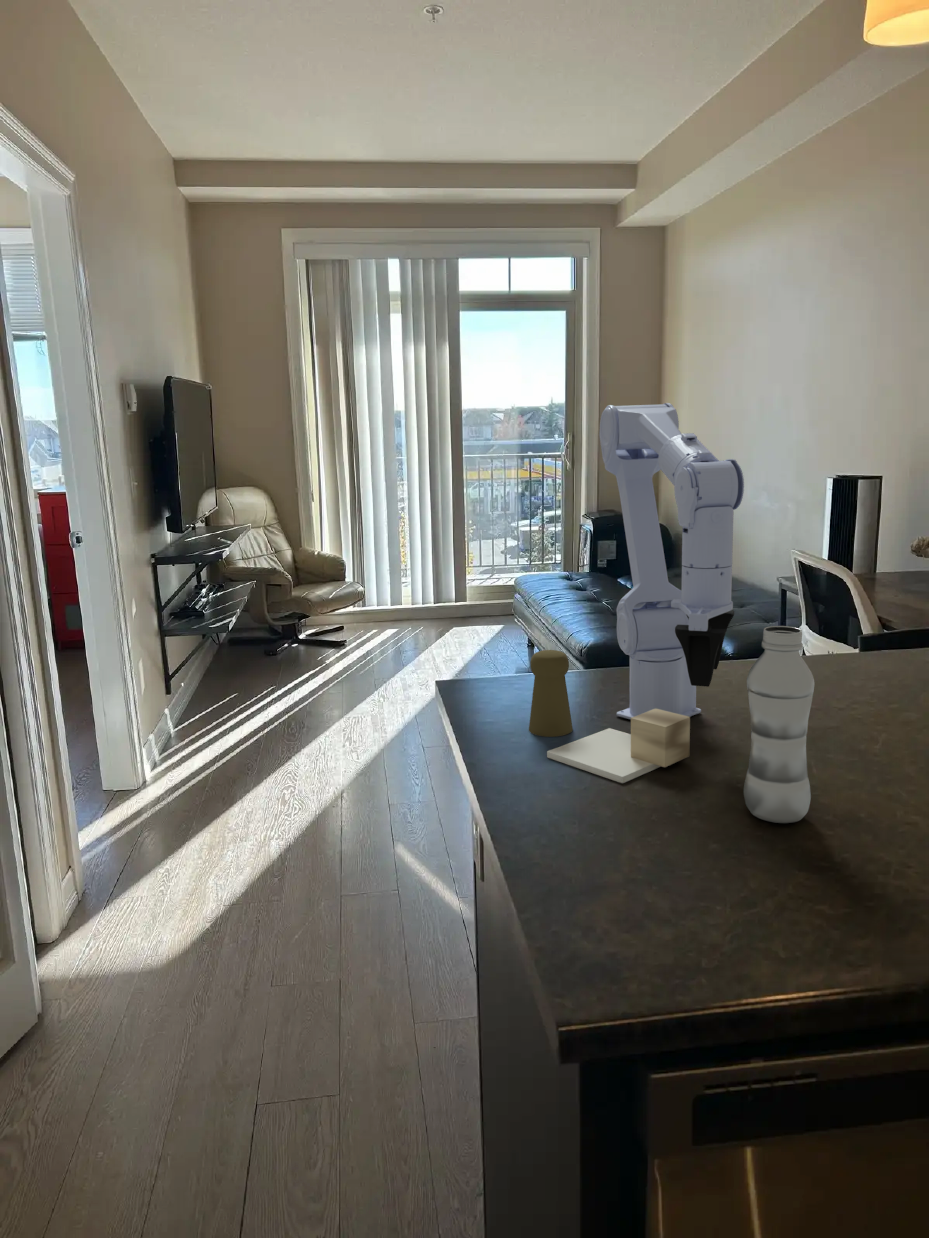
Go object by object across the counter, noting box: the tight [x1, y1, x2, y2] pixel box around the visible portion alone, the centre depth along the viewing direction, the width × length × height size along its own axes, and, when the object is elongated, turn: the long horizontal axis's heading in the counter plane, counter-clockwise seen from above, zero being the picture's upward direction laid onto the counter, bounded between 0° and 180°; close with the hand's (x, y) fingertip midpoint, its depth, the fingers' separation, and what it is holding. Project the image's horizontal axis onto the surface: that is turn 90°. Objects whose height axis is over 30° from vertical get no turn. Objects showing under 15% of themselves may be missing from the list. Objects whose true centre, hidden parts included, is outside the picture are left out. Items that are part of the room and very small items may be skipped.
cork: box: [528, 649, 574, 738], centre depth 121 cm, size 6×6×11 cm
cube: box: [630, 708, 691, 768], centre depth 108 cm, size 5×5×5 cm
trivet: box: [546, 727, 662, 784], centre depth 111 cm, size 12×12×1 cm
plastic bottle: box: [743, 625, 816, 824], centre depth 91 cm, size 6×7×20 cm
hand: (704, 676), depth 107 cm, fingers open, 7 cm apart
